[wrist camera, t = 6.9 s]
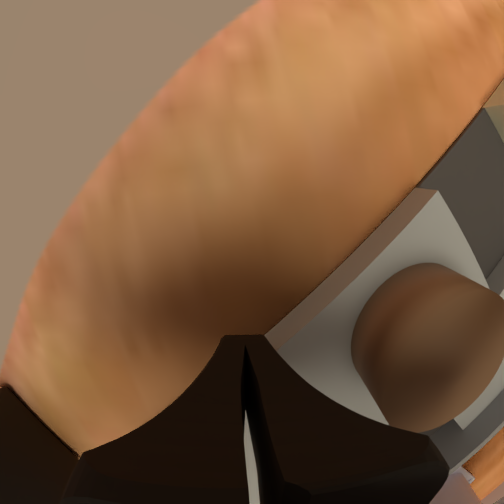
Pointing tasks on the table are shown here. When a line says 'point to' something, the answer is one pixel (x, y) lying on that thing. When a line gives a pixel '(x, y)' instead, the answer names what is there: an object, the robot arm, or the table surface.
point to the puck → (428, 345)
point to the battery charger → (30, 457)
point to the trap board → (402, 256)
